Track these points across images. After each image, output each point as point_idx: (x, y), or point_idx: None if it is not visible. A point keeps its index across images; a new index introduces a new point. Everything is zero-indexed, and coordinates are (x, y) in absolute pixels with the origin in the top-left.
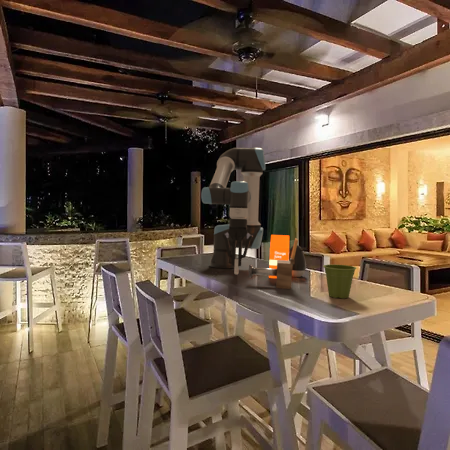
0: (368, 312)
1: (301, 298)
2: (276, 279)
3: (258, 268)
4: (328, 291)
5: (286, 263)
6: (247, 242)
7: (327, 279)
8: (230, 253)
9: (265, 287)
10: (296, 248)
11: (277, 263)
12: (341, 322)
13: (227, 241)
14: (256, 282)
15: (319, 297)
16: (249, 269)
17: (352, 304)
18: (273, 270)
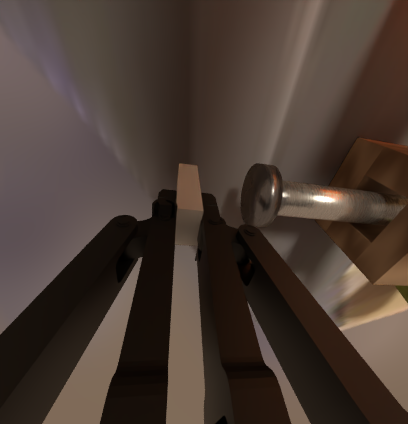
0: (362, 320)
1: (314, 286)
2: (348, 187)
3: (297, 214)
4: None
5: (406, 285)
6: (309, 397)
7: None
8: (131, 268)
9: None
10: None
11: (372, 282)
12: None
13: (34, 420)
14: (277, 132)
15: (357, 275)
16: (248, 224)
17: (377, 298)
18: (354, 222)
